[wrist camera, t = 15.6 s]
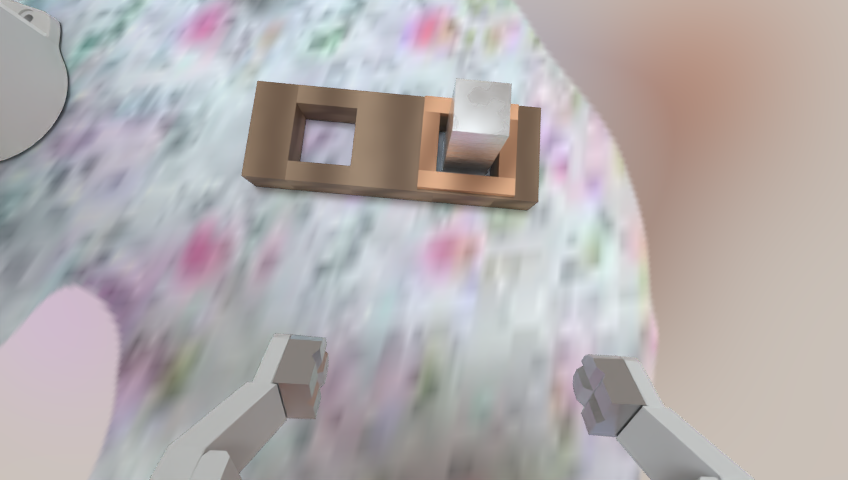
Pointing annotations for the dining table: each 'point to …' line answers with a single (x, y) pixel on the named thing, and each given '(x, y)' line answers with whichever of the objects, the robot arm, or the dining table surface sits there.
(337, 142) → the dining table surface
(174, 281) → the dining table surface
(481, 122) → the steel post
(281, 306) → the dining table surface
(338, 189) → the walnut rail
